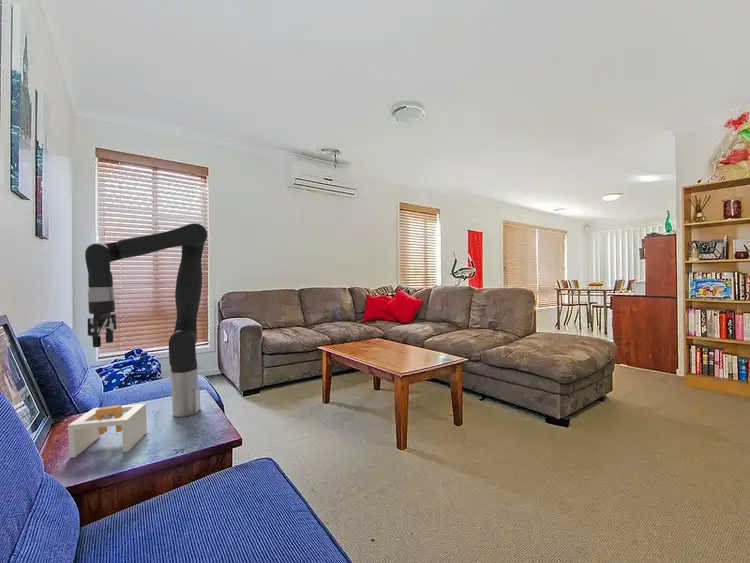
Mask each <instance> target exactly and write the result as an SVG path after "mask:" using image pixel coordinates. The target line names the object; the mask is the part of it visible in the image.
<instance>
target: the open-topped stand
mask: <svg viewBox="0 0 750 563" xmlns="http://www.w3.org/2000/svg"><path fill="white" fill-rule="evenodd" d="M121 406H122V413H124V412H125V413H124V414H123V416H122V417H120V418H117V419H115V418H114V414H112V415H105V417H104V418H102V419H101V420H97V417H96V410H97V409H99V408H100V407H93V408H91V410H89V411H88V412H86V413H84V414H83V415H81V416H80V417H78V418H77V419H75V420H74V421H72V422H71V423H69V424H68V425H67V433H68V449H69V450H68V452H69V453H68V454H69V457H68V458H69V459H71V458H76V457H77V456H78V455H80V454H81V453H82V452H83V451H85V450H86V449H87V448H89V447H90V446H91V445H92V444H93V443H95V441H97V440H98V439H99V438H101V435H99V432H98V427H107V428H108V427H116V426H118V425H122V431H121V436H122V437H121V438H122V452H123V453H128V452H130V451H131V450H132V448H133V447H134V446H135V445H136V444H137V443H138V442H139V441H140V440H141V439H142V438H143V437H145V436H144V435H146V433H148V423H147V403H139V404H137V403H136V404H128V405H121Z"/></svg>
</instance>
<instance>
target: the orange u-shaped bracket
mask: <svg viewBox="0 0 750 563" xmlns="http://www.w3.org/2000/svg"><path fill="white" fill-rule="evenodd" d="M122 406H123V405H122V404H119V405H110V406H109V405H108V406H104V407H98V408H99V409H97V410H96V417H97V420H101V419H102V418H104V417H105V416H106V415H112V414H114V416H113V419H117V418H120V417H122V416H123V415H124V414H123V412H122ZM98 432H99V435H100V436H101V435H104V434H105V433H107V432H108V426H107V427H98ZM115 432H116V433H122V425H118V426H115Z"/></svg>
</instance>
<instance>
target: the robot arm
mask: <svg viewBox="0 0 750 563" xmlns="http://www.w3.org/2000/svg"><path fill="white" fill-rule="evenodd" d="M207 239H208V231H207V229H206V227H204V226H203V225H202V224H200V223H197V222H190V223H186V224H184V225H182V226H180V227H178V228H177V227H176V228H174V229H170V230H167V231H163V232H162V231H161V232H157V233H151V234H150V233H149V234H145V235H138V236H133V237H132V236H131V237H128V238H123V239H119V240H118V241H113V242H108V243H97V242H96V243H92V244H90V245H88V246H87V247H86V249H85V252H84V256H85V265H86V269H87V274H88V275H87V277H88V278H87V279H88V280H87V282H88V286H87V287H88V292H87V298H88V299H87V302H88V314H89V315H90V314H91V315H93V317H91V318H90V317H89V318H87V336H90V337H92V348H101V347H102V342H101V341H102V338H101V335H102V332H103V331H105V343H108V344H110V343H114V332H115V330H117V329H118V326H117V315H116V313H115V311H116V305H115V304H116V303H115V300H116V299H115V290H114V280H113V278H114V277H113V273H112V271H111V263H112V262H116V261H119V260H123V259H129V258H130V259H131V258H134V257H135V258H136V257H140V256H144V255H148V254H151V253H155V252H156V253H157V252H159V251H162V250H166V249H167V250H168V249H171V248H176V247H181V257H180V262H179V266H178V269H177V270H178V271H177V275H176V281H175V282H176V283H175V291H174V292H175V293H174V295H175V296H174V297H175V308H176V309H175V310H176V321H175V327H174V331H173V334H171V336H170V337H169V339H168V360H169V366H170V371H171V372H170V376H171V377H170V378H171V380H170V382H171V401H172V402H171V404H172V411H171V412H172V416H173V417H175V418H176V417H177V418H182V417H183V418H184V417H190V416H193V415H197V414H198V413H199V411H200V410H201V389H200V385H199V382H198V381H199V380H198V378H199V377H198V361H197V353H196V348H197V346H196V344H197V341H198V332H197V329H198V328H197V325H198V323H197V318H198V312H199V308H200V303H201V295H202V289H203V266H202V265H203V264H202V259H203V251H204V247H205V244H206V241H207Z"/></svg>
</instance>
